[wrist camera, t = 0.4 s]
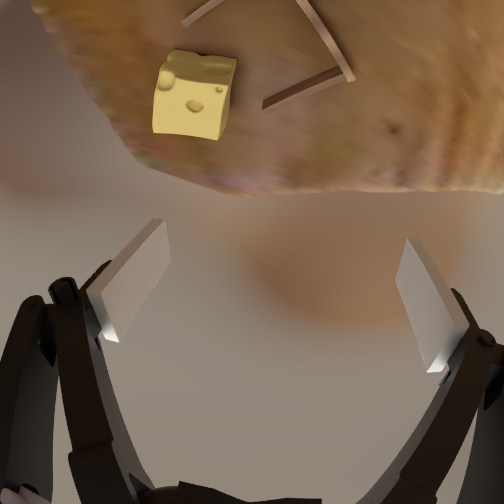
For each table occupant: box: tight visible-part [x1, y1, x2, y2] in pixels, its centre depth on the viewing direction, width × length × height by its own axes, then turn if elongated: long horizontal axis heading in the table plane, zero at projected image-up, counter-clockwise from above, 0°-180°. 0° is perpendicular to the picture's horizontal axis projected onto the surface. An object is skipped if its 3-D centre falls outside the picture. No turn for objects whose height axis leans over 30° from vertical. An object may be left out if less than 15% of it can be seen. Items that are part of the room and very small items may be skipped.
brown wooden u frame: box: [180, 0, 356, 115], centre depth 32 cm, size 20×15×4 cm
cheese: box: [153, 49, 237, 140], centre depth 38 cm, size 10×11×10 cm
